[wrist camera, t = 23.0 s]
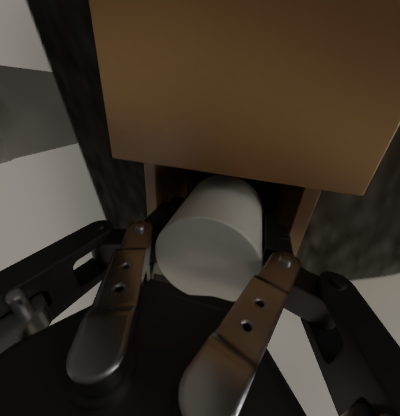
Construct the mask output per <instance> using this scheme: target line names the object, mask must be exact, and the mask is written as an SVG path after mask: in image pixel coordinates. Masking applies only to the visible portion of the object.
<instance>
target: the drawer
mask: <svg viewBox="0 0 400 416" xmlns="http://www.w3.org/2000/svg"><path fill="white" fill-rule="evenodd" d="M187 170H188V169H182V168H176V167H169V166H162V165H156V164H149V163H144V173H145V186H146V200H147V213H148V216H149V215H150V214H151V213H152V212H153V211H154V210H155V209H156V208H157V207H158V206H159V205H160V204H162V203H164V202H169V201H170V200H171V199H172V198H173V197H174V196H177V197H182V198H185V199H186V198H187ZM320 193H321V190H320V189H313V188H306V187H300V186H293V185H287V184H283V185H282V189H281V192H280V196H279V199H278V203H277V206H276V210H275V213H274V215H277V220H278V223H280V224H284V225H285V226H286V227H287V228H288V229H289V233H290V238H291V243H292V249H293V254H294V256H296V254H297V251H298V249H299V246H300V243H301V241H302V238H303V236H304V233H305V231H306V228H307V226H308V223H309V221H310V218H311V216H312V213H313V211H314V208H315V205H316V203H317V200H318V198H319V195H320ZM154 273H157V274H160V275H164V274H163V273H162V271H161V269H160V268H159V265H158V263H157V260H156V258H155V268H154ZM233 302H234V303H235V302H236V301H233Z"/></svg>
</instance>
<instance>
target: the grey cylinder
mask: <svg viewBox="0 0 400 416" xmlns="http://www.w3.org/2000/svg"><path fill="white" fill-rule="evenodd" d="M155 255H156V260H157V263H158V265H159V268H160V269H161V271H162V273H163V274H164V276H165V277H166V278H167V279H168V280H169V281H170V282H171V283H172V284H173V285H174V286H175V287H177V288H178V289H179V290H181V291H183V292H184V293H186V294H188V295H202V296H214V297H218V298H221V299H225V300H228V301H232V302H233V301H237V299H238V298H239V296H240V295H241V293H242V292H243V290H244V289H245V287H246V286H247V284H248V283H249V282H250V280H251V279H252V277H253V276H254V275H255V274H256V275H258V274H259V272H260V271H261V269H262V268H263V206H262V202H261V199H260V197H259V195H258V194H257V192H256V191H255V190H254V188H253V187H252V186H250V185H249V184H248V183H246V182H245V181H243V180H241V179H239V178H236V177H233V176H228V175H217V176H212V177H209V178H207V179H204V180H203V181H201V182H200V183H199V184H198V185H197V186H196V187H195V188H194V189H193V190H192V192H191V193H190V194H189V196H188V197H187V198H186V199H185V201H184V202H183V203H182V205H181V206H180V207H179V209H178V210H177V211H176V212H175V214H174V215H173V216H172V218H171V219H170V220H169V222H168V223H167V224H166V225H165V227H164V228H163V229H162V231H161V232H160V234H159V235H158V238H157V240H156V245H155Z"/></svg>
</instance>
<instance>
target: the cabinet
mask: <svg viewBox="0 0 400 416" xmlns="http://www.w3.org/2000/svg"><path fill="white" fill-rule="evenodd" d="M89 5H90V12H91V18H92V25H93V32H94V38H95V45H96V52H97V58H98V65H99V71H100V78H101V85H102V91H103V98H104V105H105V111H106V118H107V125H108V131H109V138H110V145H111V151H112V157H113V158H117V159H123V160H130V161H136V162H143V163H149V164H156V165H162V166H169V167H176V168H182V169H189V170H195V171H202V172H208V173H215V174H221V175H228V176H234V177H241V178H248V179H254V180H261V181H267V182H274V183H280V184H287V185H293V186H300V187H306V188H313V189H320V190H326V191H333V192H339V193H346V194H352V195H359V196H363V195H364V193H365V191H366V189H367V187H368V185H369V183H370V181H371V179H372V177H373V175H374V173H375V171H376V170H377V168H378V166H379V164H380V162H381V160H382V158H383V156H384V154H385V152H386V150H387V148H388V146H389V144H390V142H391V140H392V138H393V136H394V134H395V133H396V131H397V129H398V127H399V125H400V0H89Z"/></svg>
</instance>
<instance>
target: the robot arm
mask: <svg viewBox="0 0 400 416" xmlns="http://www.w3.org/2000/svg"><path fill="white" fill-rule="evenodd" d="M184 201H185V198H182V197H177V196H174V197H173V198H172V199H171V200H170V201H169V202H164V203H162V204H160V205H159V206H158V207H157V208H156V209H155V210H154V211H153V212H152V213H151V214H150V215H149V216H148V217H147V218H146V219H145V220H144V221H137V222H134V223H132V224H130V225H129V226H128V227H127V229H114V227H113V223H112V222H110V221H106V220H102V221H96V222H93V223H91V224H89V225H87V226H85V227H83V228H81V229H80V230H78V231H76V232H74V233H72V234H70V235H68V236H66V237H64V238H62V239H61V240H59V241H57V242H55V243H53V244H51V245H49V246H47V247H45V248H43V249H42V250H40V251H38V252H36V253H34V254H32V255H30V256H28V257H26V258H25V259H23V260H21V261H19V262H17V263H15V264H13V265H11V266H9V267H7V268H6V269H4V270H2V271H0V416H306V414H305V412H304V411H303V409H302V407H301V405H300V404H299V402H298V400H297V399H296V397H295V395H294V394H293V392H292V390H291V389H290V387H289V385H288V384H287V382H286V380H285V378H284V377H283V375H282V373H281V372H280V370H279V368H278V367H277V365H276V363H275V362H274V360H273V358H272V356H271V355H270V353H269V351H268V350H267V346H268V343H269V341H270V339H271V336H272V334H273V332H274V329H275V327H276V325H277V322H278V320H279V318H280V315H281V313H282V310H283V308H285V309H287V310H289V311H290V312H292V313H294V314H296V315H298V316H299V317H301V321H302V324H303V326H304V329H305V331H306V334H307V336H308V339H309V342H310V344H311V347H312V349H313V352H314V354H315V357H316V359H317V362H318V364H319V367H320V370H321V372H322V375H323V377H324V380H325V382H326V384H327V387H328V390H329V392H330V395H331V398H332V400H333V403H334V405H335V408H336V410H337V413H338V415H339V416H400V347H399V345H398V344H397V343H396V341H395V340H394V339H393V337H392V336H391V335H390V333H389V332H388V331H387V329H386V328H385V327H384V325H383V324H382V323H381V321H380V320H379V318H378V317H377V316H376V314H375V313H374V312H373V311H372V309H371V308H370V306H369V305H368V304H367V302H366V301H365V300H364V298H363V297H362V296H361V294H360V293H359V292H358V290H357V289H356V287H355V286H354V285H353V284H352V283H351V282H350V281H349V280H348V279H347V278H345V277H343V276H342V275H340V274H337V273H334V272H323V273H321V275H320V276H317V275H315V274H313V273H311V272H309V271H307V270H305V269H303V268H302V267H301V263H300V261H299V260H298V259H297V258H296V257H295V256H294V254H293V249H292V243H291V238H290V233H289V229H288V228H287V227H286V226H285V225H284V224H280V223H278V220H277V215H274V214H269V213H264V216H263V268H262V269H261V271H260V272H259V274H258V275H256V274H255V275H254V276H253V277H252V279H251V280H250V282H249V283H248V284H247V286H246V287H245V289H244V290H243V292H242V293H241V295H240V296H239V298H238V299H237V301H236V302H235V303H234V302H232V301H228V300H225V299H221V298H218V297H214V296H202V295H188V294H186V293H184V292H183V291H181V290H179V289H177V288H176V287H174V286H172V285H170V284H167V283H164V282H160V281H157V280H153V276H154V268H155V258H156V255H155V245H156V240H157V238H158V235H159V234H160V232H161V231H162V229H163V228H164V227H165V225H166V224H167V223H168V222H169V220H170V219H171V218H172V216H173V215H174V214H175V212H176V211H177V210H178V209H179V207H180V206H181V205H182V203H183V202H184ZM89 252H92V255H93V258H91V259H90V260H89V261H87V262H86V263H84V264H83V265H81V266H80V267H78V268H77V269H75V270H73V266H74V264H75V262H76V261H77V260H79V259H80V258H81V257H83V256H85V255H86V254H88V253H89ZM101 280H102V282H101V284H100V287H99V289H98V292H97V294H96V297H95V299H94V302H93V304H92V305H91V306H89V307H87V308H85V309H83V310H81V311H79V312H77V313H75V314H73V315H71V316H69V317H67V318H65V319H63V320H61V321H59V322H57V323H55V324H53V325H51V326H49V325H50V323H51V321H52V320H53V319H55V318H56V317H57V316H58V315H59V314H61V313H62V312H63V311H64V310H66V309H67V308H68V307H69V306H70V305H72V304H73V303H74V302H75V301H77V300H78V299H79V298H80V297H81V296H83V295H84V294H85V293H86V292H88V291H89V290H90V289H91V288H93V287H94V286H95V285H96V284H97V283H99V282H100V281H101Z"/></svg>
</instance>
